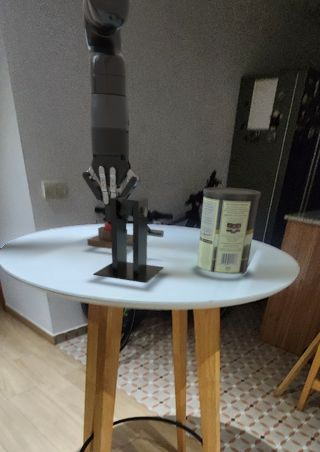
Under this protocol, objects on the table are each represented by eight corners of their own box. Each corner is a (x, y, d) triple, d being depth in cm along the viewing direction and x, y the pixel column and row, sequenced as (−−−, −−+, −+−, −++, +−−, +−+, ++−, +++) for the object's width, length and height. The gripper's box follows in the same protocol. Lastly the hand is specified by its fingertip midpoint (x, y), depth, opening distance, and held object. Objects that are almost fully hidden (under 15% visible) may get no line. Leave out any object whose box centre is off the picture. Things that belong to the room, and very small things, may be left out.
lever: (134, 237, 73) (136, 225, 73) (162, 241, 72) (164, 228, 72) (108, 213, 61) (111, 197, 61) (142, 216, 60) (144, 201, 59)
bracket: (116, 266, 73) (114, 192, 65) (163, 273, 71) (167, 197, 63) (93, 280, 65) (88, 198, 58) (145, 288, 63) (147, 204, 55)
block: (87, 250, 82) (86, 230, 80) (106, 241, 90) (106, 223, 88) (120, 254, 81) (120, 234, 78) (136, 245, 88) (136, 227, 86)
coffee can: (225, 261, 80) (236, 186, 71) (257, 275, 72) (273, 193, 64) (185, 266, 75) (192, 186, 67) (215, 281, 68) (227, 194, 60)
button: (102, 232, 82) (101, 223, 81) (108, 229, 85) (108, 221, 84) (116, 233, 82) (116, 225, 81) (123, 231, 84) (122, 222, 83)
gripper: (70, 123, 71) (78, 222, 81) (133, 126, 68) (133, 229, 78) (88, 125, 76) (93, 217, 87) (147, 128, 73) (145, 223, 84)
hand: (112, 222), depth 82 cm, fingers closed
